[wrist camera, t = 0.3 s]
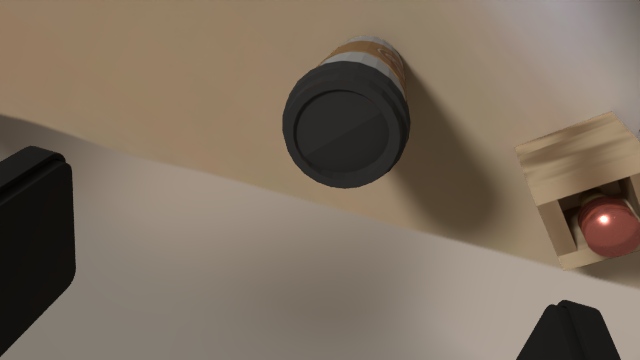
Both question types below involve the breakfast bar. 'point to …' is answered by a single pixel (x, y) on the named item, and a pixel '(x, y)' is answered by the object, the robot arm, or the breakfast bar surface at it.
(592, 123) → the small open wooden box
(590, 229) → the button
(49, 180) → the robot arm
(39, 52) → the breakfast bar surface
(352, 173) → the coffee cup
